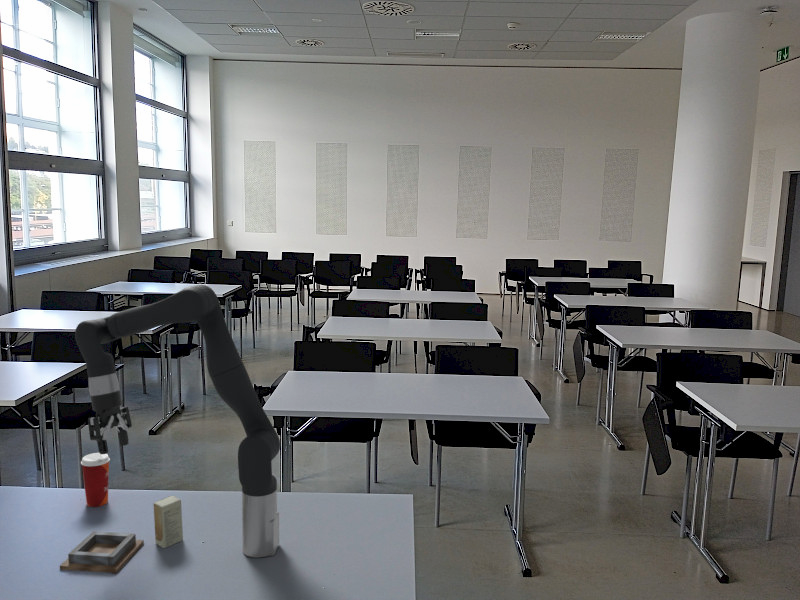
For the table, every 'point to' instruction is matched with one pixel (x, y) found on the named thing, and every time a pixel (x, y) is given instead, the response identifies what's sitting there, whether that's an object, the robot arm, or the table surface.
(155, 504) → the skincare box
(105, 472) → the coffee cup
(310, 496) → the table surface
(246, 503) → the robot arm
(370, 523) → the table surface
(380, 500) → the table surface
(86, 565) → the socket stand
